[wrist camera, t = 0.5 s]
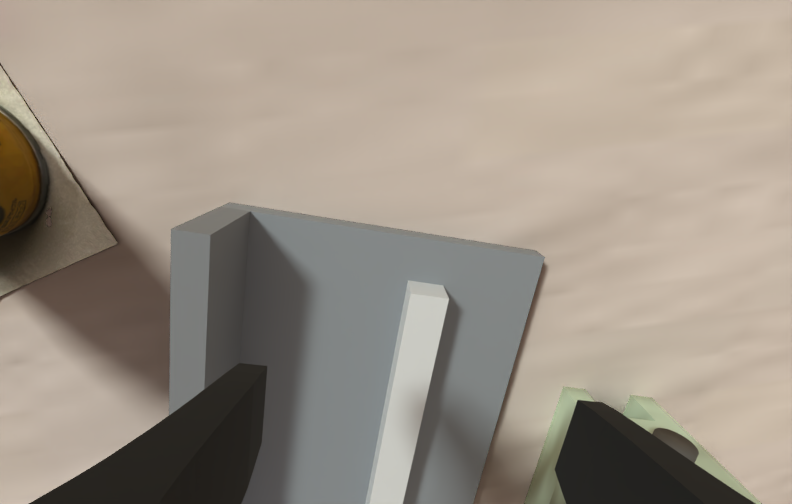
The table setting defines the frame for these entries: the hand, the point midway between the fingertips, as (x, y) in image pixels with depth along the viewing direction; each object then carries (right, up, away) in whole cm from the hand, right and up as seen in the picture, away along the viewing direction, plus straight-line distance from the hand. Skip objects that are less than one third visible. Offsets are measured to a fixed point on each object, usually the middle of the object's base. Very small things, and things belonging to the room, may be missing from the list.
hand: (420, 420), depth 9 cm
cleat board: (-2, -4, +11) cm, 12 cm away
